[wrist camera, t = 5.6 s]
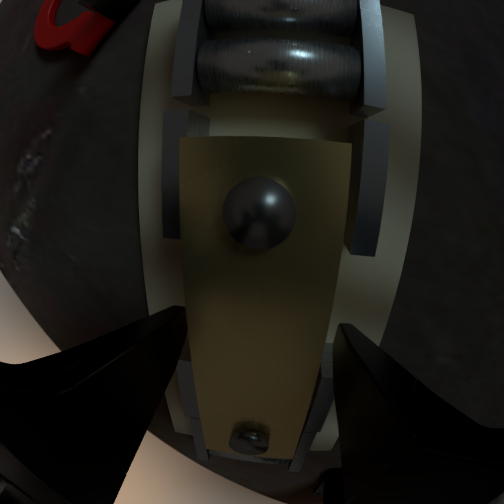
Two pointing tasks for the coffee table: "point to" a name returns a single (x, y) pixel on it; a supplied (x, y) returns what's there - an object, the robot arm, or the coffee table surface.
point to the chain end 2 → (312, 425)
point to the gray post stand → (78, 25)
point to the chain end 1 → (285, 87)
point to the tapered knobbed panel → (259, 280)
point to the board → (290, 126)
